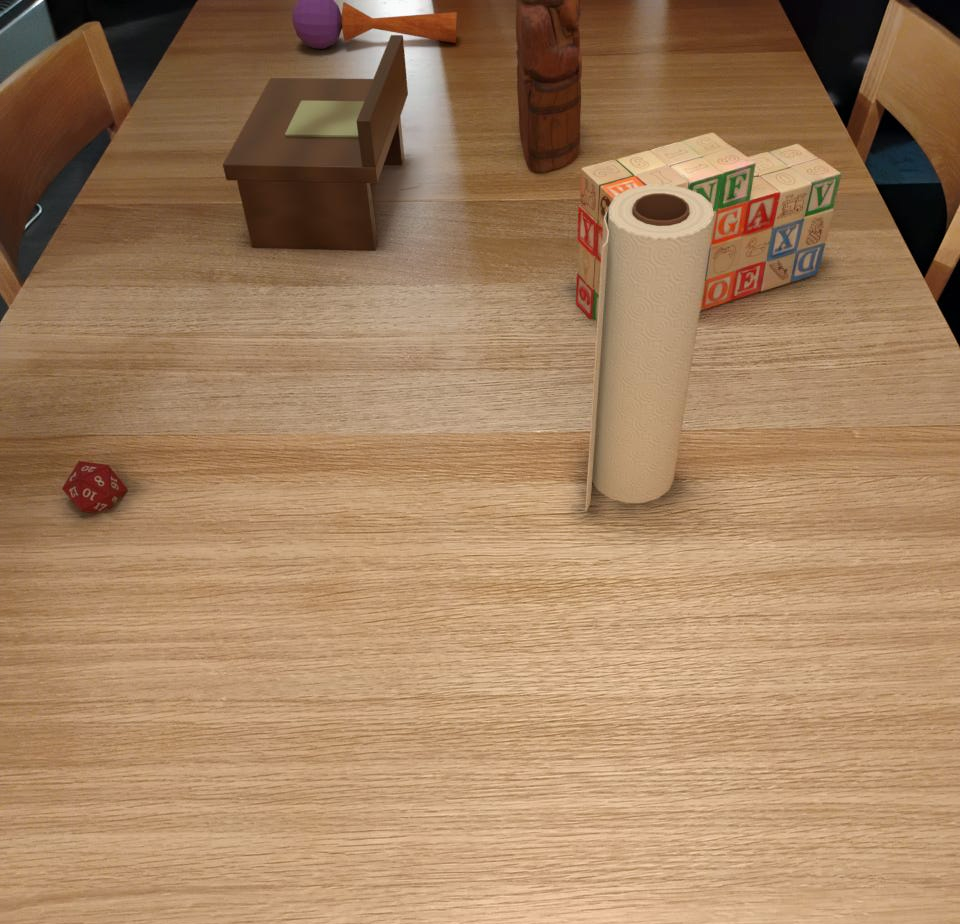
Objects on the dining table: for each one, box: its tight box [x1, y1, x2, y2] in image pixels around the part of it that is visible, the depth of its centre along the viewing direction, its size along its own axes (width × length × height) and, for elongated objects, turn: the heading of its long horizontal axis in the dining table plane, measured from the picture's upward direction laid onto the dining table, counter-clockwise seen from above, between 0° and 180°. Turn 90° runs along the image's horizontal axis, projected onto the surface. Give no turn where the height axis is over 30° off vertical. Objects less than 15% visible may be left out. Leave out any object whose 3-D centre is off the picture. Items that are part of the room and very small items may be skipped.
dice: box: [61, 460, 128, 514], centre depth 72 cm, size 4×4×4 cm
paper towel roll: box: [584, 185, 714, 512], centre depth 65 cm, size 7×6×21 cm
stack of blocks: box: [575, 132, 842, 320], centre depth 84 cm, size 21×6×12 cm, turn 114°
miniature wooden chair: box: [222, 34, 409, 251], centre depth 96 cm, size 14×18×12 cm
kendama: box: [291, 0, 458, 50], centre depth 123 cm, size 6×6×20 cm
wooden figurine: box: [515, 0, 583, 173], centre depth 99 cm, size 12×6×18 cm, turn 3°
